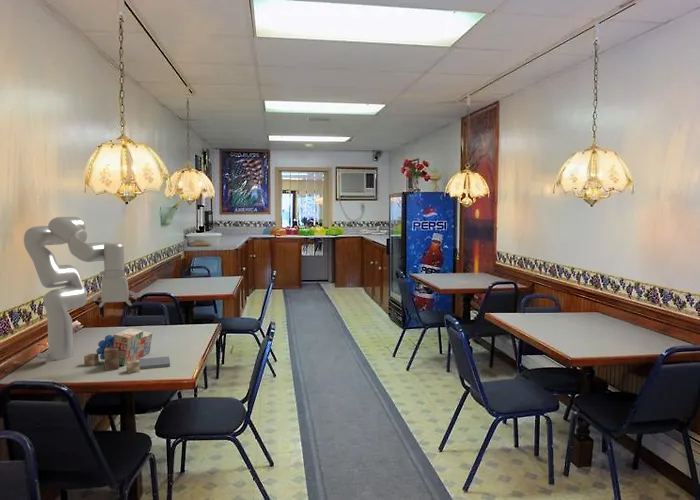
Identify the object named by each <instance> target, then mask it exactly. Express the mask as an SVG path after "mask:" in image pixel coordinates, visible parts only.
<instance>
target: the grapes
mask: <svg viewBox="0 0 700 500" xmlns="http://www.w3.org/2000/svg"><path fill="white" fill-rule="evenodd" d="M114 337H115V334H114V335H111V334H108V335H106V336H105V337H104V339H102V340H99V342H98V343H97V345H98V348H97V349H96V352H95V353H96V354H98V355H99V359H100V360H102V361H103V360H104V361H105V357H104V350H105V348H107V347H113V342H114Z"/></svg>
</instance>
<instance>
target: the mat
mask: <svg viewBox="0 0 700 500" xmlns="http://www.w3.org/2000/svg"><path fill="white" fill-rule="evenodd" d="M138 361H139V365H140V370H146V369H147V370H148V369H156V368H166V367H167V368H168V367H169V368H170V367H171V360H170V356H169V355H168V356H160V357H158V356H157V357H145V358H138Z"/></svg>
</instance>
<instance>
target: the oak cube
mask: <svg viewBox="0 0 700 500" xmlns="http://www.w3.org/2000/svg"><path fill="white" fill-rule="evenodd" d="M83 360H84V367H88V366H89V367H91V366H96V365H98V364H99V362H100V361H99V360H100V355H99V354H97V353H88V354H86V355H84V356H83Z"/></svg>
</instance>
